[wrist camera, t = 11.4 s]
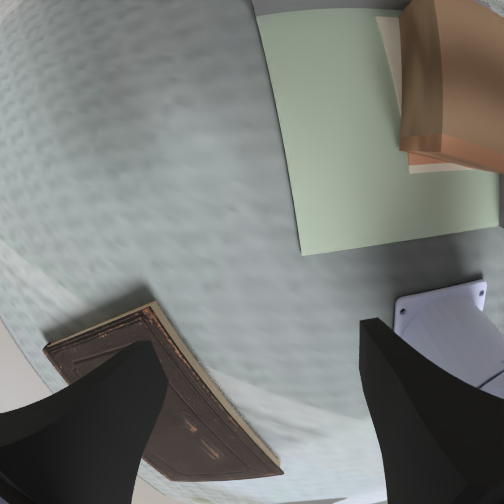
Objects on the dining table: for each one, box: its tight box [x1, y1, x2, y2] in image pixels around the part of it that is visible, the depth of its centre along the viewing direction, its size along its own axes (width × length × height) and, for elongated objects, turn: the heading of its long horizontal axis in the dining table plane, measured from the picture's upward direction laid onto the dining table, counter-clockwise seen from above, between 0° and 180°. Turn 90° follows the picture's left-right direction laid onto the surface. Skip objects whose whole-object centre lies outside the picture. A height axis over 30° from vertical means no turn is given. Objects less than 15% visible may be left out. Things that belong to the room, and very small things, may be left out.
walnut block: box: [398, 0, 504, 174], centre depth 10 cm, size 9×5×5 cm, turn 177°
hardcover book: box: [43, 301, 284, 482], centre depth 24 cm, size 16×23×2 cm
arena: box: [252, 0, 504, 256], centre depth 13 cm, size 16×16×2 cm
